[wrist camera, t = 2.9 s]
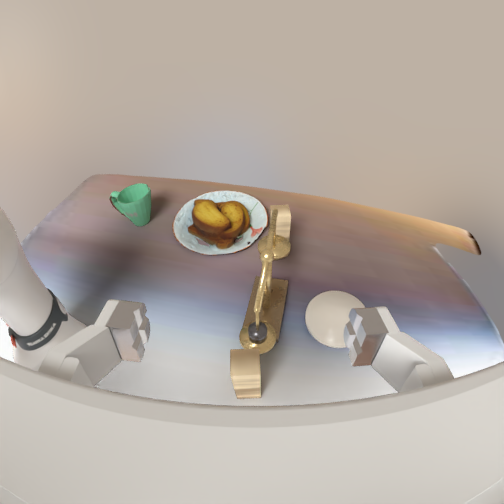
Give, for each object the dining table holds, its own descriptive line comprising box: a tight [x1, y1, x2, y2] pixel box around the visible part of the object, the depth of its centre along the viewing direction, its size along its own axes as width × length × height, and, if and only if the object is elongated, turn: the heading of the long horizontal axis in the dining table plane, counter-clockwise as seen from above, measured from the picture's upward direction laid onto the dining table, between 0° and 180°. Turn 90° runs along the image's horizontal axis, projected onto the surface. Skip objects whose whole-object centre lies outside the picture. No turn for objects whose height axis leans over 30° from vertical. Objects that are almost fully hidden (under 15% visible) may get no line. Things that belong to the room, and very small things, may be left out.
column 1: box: [230, 349, 261, 399], centre depth 41 cm, size 4×4×12 cm
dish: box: [305, 291, 365, 348], centre depth 53 cm, size 13×13×2 cm
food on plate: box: [173, 191, 268, 255], centre depth 74 cm, size 25×25×7 cm
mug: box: [110, 184, 151, 226], centre depth 76 cm, size 15×10×10 cm
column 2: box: [270, 205, 291, 256], centre depth 64 cm, size 4×4×12 cm
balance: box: [239, 208, 291, 354], centre depth 50 cm, size 24×7×19 cm, turn 168°
